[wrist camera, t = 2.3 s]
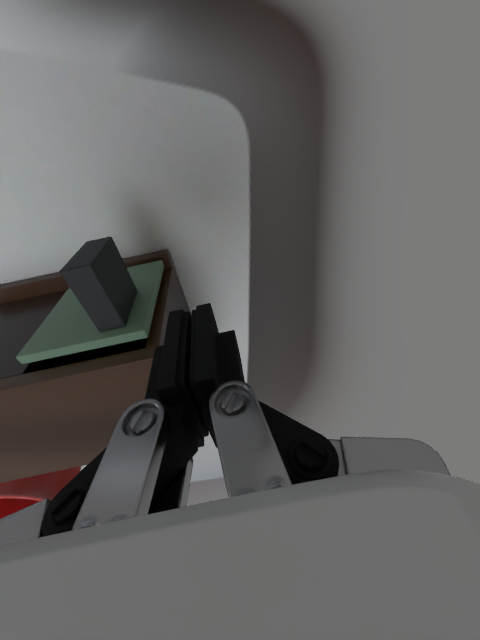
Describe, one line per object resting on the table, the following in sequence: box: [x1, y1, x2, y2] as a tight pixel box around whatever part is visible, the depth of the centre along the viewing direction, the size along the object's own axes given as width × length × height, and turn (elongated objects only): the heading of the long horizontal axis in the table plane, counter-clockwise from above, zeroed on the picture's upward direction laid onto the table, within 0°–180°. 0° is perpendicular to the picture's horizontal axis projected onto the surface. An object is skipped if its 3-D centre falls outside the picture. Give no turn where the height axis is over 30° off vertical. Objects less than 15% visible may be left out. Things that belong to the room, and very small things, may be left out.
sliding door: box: [16, 237, 164, 364], centre depth 17 cm, size 5×7×9 cm, turn 100°
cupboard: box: [0, 250, 192, 483], centre depth 21 cm, size 11×16×12 cm, turn 99°
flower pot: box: [0, 466, 81, 519], centre depth 33 cm, size 11×11×10 cm
